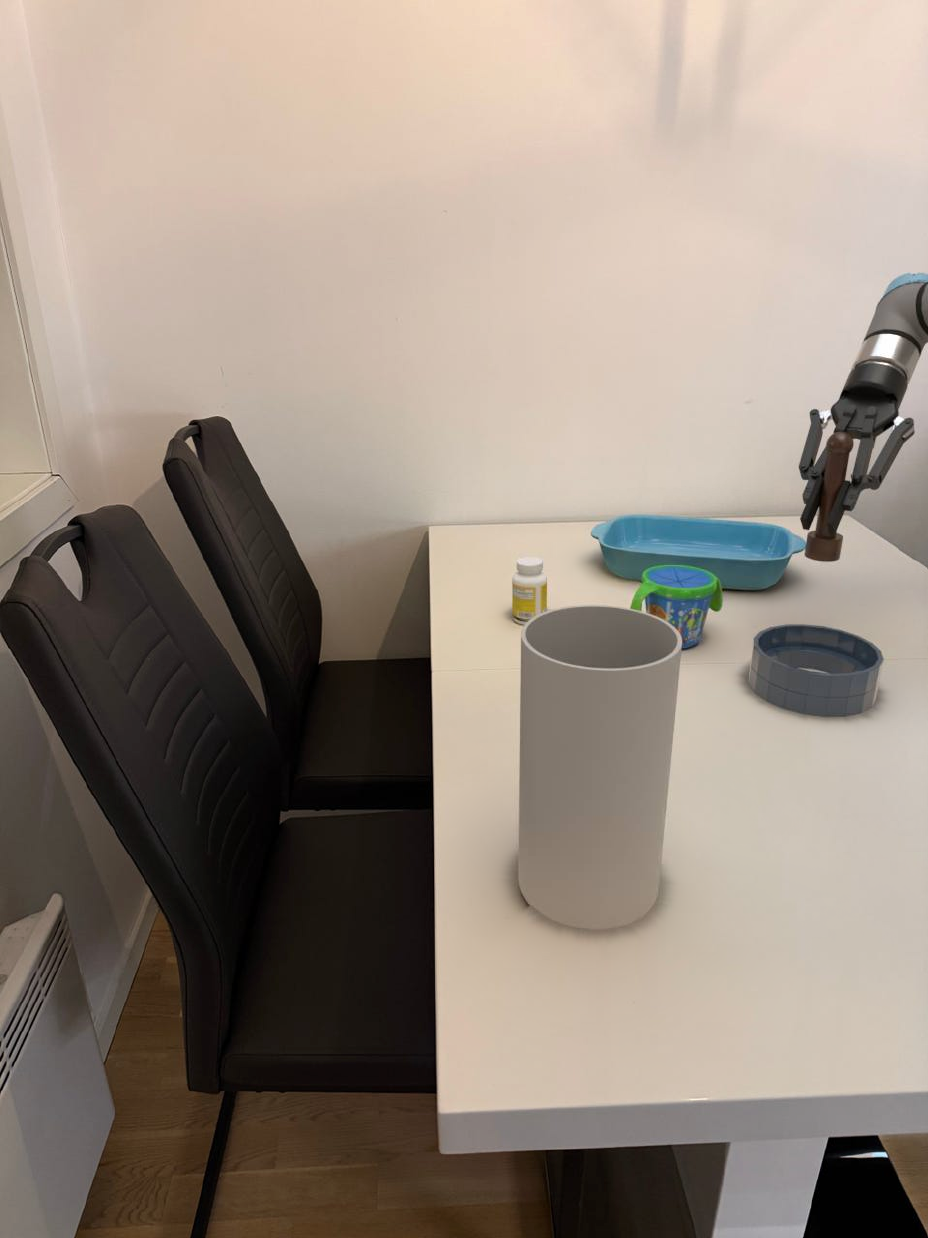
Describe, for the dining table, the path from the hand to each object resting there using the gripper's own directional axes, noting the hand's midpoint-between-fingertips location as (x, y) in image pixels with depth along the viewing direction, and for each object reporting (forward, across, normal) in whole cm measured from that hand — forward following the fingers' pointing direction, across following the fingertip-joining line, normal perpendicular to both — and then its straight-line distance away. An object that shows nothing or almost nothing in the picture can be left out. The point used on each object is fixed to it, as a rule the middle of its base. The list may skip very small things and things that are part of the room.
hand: (817, 526), depth 108 cm
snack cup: (+16, +17, -13) cm, 27 cm away
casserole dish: (-5, +29, -34) cm, 44 cm away
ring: (+19, -4, -10) cm, 22 cm away
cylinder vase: (+54, -1, +25) cm, 59 cm away
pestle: (+1, 0, -6) cm, 6 cm away
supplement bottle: (+21, +39, -8) cm, 45 cm away
